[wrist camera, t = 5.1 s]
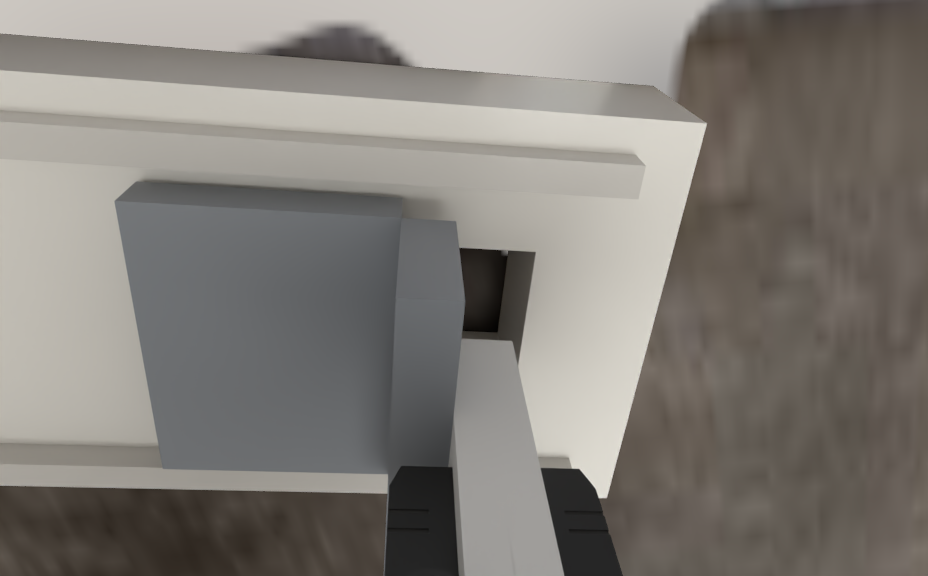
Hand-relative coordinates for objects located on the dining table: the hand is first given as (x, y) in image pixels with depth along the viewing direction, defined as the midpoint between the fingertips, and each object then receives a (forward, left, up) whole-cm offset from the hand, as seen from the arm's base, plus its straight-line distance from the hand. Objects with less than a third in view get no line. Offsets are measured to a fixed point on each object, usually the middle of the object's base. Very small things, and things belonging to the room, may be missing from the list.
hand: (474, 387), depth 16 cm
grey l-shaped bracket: (-4, 0, -2) cm, 5 cm away
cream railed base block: (-5, 0, -6) cm, 8 cm away
